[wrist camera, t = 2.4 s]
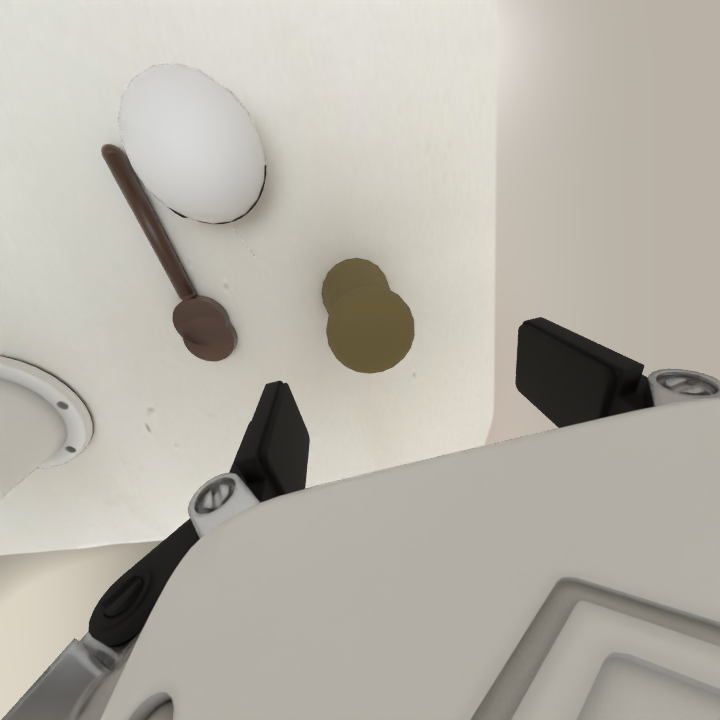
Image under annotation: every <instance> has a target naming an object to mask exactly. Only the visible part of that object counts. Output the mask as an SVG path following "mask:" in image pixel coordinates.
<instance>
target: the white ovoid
mask: <svg viewBox="0 0 720 720" xmlns="http://www.w3.org/2000/svg"><path fill="white" fill-rule="evenodd" d="M118 120H119V127H120V134H121V141H122V143H123V146H124V148H125V151H126V153H127V156H128V158H129V160H130V163H131V165H132V167H133V169H134V171H135V172H136V174H137V175H138V176H139V178H140V179H141V181H142V182H143V183H144V185H145V186H146V188H147V189H148V190H149V191H150V192H151V193H152V194H153V195H154V196H155V197H157V198H158V199H159V200H160V201H161V202H162V203H163V204H164V205H166V206H167V207H168V208H169V209H171V210H172V211H173V212H175V213H176V214H178V215H179V216H181V217H184V218H191V219H193V220H197V221H200V222H204V223H209V224H224V223H229V222H233V221H236V220H238V219H240V218H242V217H243V216H245V215H246V214H247V213H248V212H249V211H250V210H252V208H253V207H254V206H255V205H256V203H257V201H258V200H259V198H260V196H261V193H262V191H263V188H264V184H265V178H266V161H265V157H264V152H263V148H262V143H261V139H260V135H259V133H258V131H257V129H256V127H255V125H254V123H253V121H252V119H251V117H250V115H249V113H248V111H247V110H246V109H245V107H244V106H243V105H242V104H241V103H240V102H239V100H238V99H237V98H236V97H235V96H234V94H233V93H232V92H231V91H230V90H228V89H227V88H225V87H224V86H223V85H221V84H220V83H218V82H217V81H215V80H214V79H212V78H211V77H209V76H208V75H206V74H205V73H203V72H202V71H200V70H198V69H194V68H191V67H188V66H184V65H181V64H178V63H171V64H161V65H153V66H152V67H150V68H149V69H147V70H145V71H144V72H142V73H141V74H139V75H137V76H136V77H135V78H133V79H132V80H131V82H130V84H129V85H128V87H127V89H126V90H125V92H124V94H123V95H122V98H121V104H120V110H119V116H118ZM232 228H233V227H232ZM233 229H234V228H233ZM235 232H236V231H235ZM236 233H237V232H236ZM238 236H239V235H238ZM242 241H243V240H242ZM243 242H244V241H243ZM244 243H245V242H244ZM247 247H248V246H247ZM249 250H250V249H249ZM250 251H251V250H250ZM252 254H253V253H252ZM253 255H254V254H253Z"/></svg>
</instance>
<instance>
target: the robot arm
mask: <svg viewBox="0 0 720 720" xmlns="http://www.w3.org/2000/svg"><path fill="white" fill-rule="evenodd" d="M643 368H644V365H643V364H641V363H638V362H636V361H634V360H632V359H630V358H628V357H626V356H623V355H621V354H619V353H617V352H615V351H613V350H611V349H609V348H606V347H604V346H602V345H600V344H597V343H596V342H594V341H591V340H589V339H587V338H585V337H583V336H581V335H579V334H576V333H574V332H572V331H570V330H568V329H566V328H563V327H561V326H559V325H557V324H555V323H553V322H551V321H549V320H546V319H544V318H542V317H539V318H535V319H531V320H527V321H524V322H523V324H522V325H521V326H520V327H519V330H518V347H517V365H516V387H517V389H518V391H519V392H520V393H521V394H523V395H524V396H525V397H526V398H527V399H528V400H529V401H530V402H531V403H532V404H533V405H534V406H536V407H537V408H538V409H539V410H540V411H541V412H542V413H543V414H544V415H545V416H546V417H548V418H549V419H550V420H551V421H552V422H553V423H554V424H555V425H556V426H557V427H558V428H557V429H553V430H548V431H544V432H540V433H536V434H532V435H527V436H523V437H519V438H515V439H510V440H506V441H502V442H497V443H493V444H489V445H485V446H480V447H476V448H472V449H468V450H463V451H459V452H455V453H451V454H446V455H442V456H438V457H434V458H430V459H425V460H421V461H417V462H413V463H408V464H404V465H400V466H396V467H392V468H388V469H383V470H379V471H375V472H371V473H367V474H363V475H359V476H354V477H350V478H346V479H342V480H338V481H334V482H330V483H325V484H321V485H317V486H314V487H310V488H306V489H305V484H306V474H307V463H308V453H309V442H310V439H309V434H308V431H307V428H306V426H305V424H304V421H303V419H302V416H301V414H300V412H299V409H298V407H297V404H296V402H295V400H294V397H293V395H292V392H291V390H290V388H289V385H288V384H287V383H283V382H282V381H277V382H272V383H268V384H266V385H265V388H264V390H263V393H262V395H261V398H260V401H259V403H258V406H257V408H256V411H255V413H254V416H253V418H252V421H250V423H249V425H248V427H247V430H246V432H245V435H244V437H243V440H242V442H241V445H240V447H239V450H238V452H237V455H236V457H235V460H234V462H233V465H232V467H231V470H230V472H229V473H225V474H221V475H218V476H216V477H214V478H212V479H211V480H209V481H207V482H206V483H205V484H204V485H203V486H201V487H200V488H199V489H198V491H197V492H196V493H195V494H194V496H193V497H192V499H191V501H190V503H189V507H188V513H189V516H190V519H189V520H188V521H186V522H185V523H184V524H183V525H182V526H180V527H179V528H178V529H177V530H176V531H175V532H173V533H172V534H171V535H170V536H169V537H167V538H166V539H165V540H164V541H163V542H161V543H160V544H159V545H158V546H157V547H156V548H154V549H153V550H152V551H151V552H150V553H149V554H147V555H146V556H145V557H144V558H143V559H142V560H140V561H139V562H138V563H137V564H135V565H134V566H133V567H132V568H131V569H130V570H128V571H127V572H126V573H125V574H124V575H122V576H121V577H120V578H119V579H118V580H117V581H116V582H115V583H114V584H113V585H112V586H111V587H110V588H109V589H108V590H107V591H106V593H105V594H104V595H103V597H102V598H101V599H100V601H99V602H98V604H97V606H96V607H95V609H94V611H93V613H92V616H91V618H90V621H89V631H88V633H87V634H86V635H85V636H84V637H83V638H82V639H81V640H80V641H78V640H77V639H74V640H73V641H72V642H71V643H70V644H69V645H68V646H67V647H66V648H65V650H64V651H63V652H62V653H61V654H60V655H59V656H58V657H57V659H56V660H55V661H54V662H53V663H52V664H51V665H50V666H49V667H48V669H47V670H46V671H45V672H44V673H43V674H42V675H41V676H40V677H39V679H38V680H37V681H36V682H35V683H34V684H33V685H32V686H31V687H30V689H29V690H28V691H27V692H26V693H25V694H24V695H23V697H21V699H20V700H19V701H18V702H17V703H16V704H15V705H14V706H13V707H12V709H11V710H10V711H9V712H8V713H7V714H6V715H5V716H4V717H3V719H2V720H720V381H719V380H718V379H716V378H714V377H711V376H708V375H706V374H702V373H699V372H695V371H688V370H682V369H662V370H657V371H654V372H652V373H651V374H650V375H649V377H648V378H647V377H646V376H644V375H642V372H643ZM92 434H93V424H92V421H91V417H90V414H89V412H88V411H87V409H86V407H85V405H84V404H83V402H82V401H81V400H80V399H79V397H78V396H77V395H76V394H75V393H74V392H73V391H72V390H71V389H69V388H68V387H67V386H66V385H65V384H63V383H62V382H60V381H59V380H58V379H56V378H55V377H53V376H52V375H50V374H48V373H46V372H44V371H42V370H40V369H38V368H36V367H33V366H31V365H28V364H26V363H23V362H21V361H17V360H13V359H10V358H6V357H2V356H0V499H1V498H2V497H3V496H5V495H6V494H7V493H8V492H9V491H10V490H12V489H13V488H14V487H15V486H16V485H17V484H19V483H20V482H21V481H22V480H23V479H24V478H26V477H27V476H28V475H29V474H30V473H31V472H33V471H34V470H35V469H36V468H47V467H53V466H57V465H60V464H63V463H66V462H68V461H70V460H71V459H73V458H75V457H76V456H77V455H78V454H79V453H80V452H81V451H83V450H84V449H85V447H86V446H87V445H88V443H89V442H90V440H91V437H92Z"/></svg>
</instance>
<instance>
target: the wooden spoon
mask: <svg viewBox="0 0 720 720" xmlns="http://www.w3.org/2000/svg"><path fill="white" fill-rule="evenodd" d="M101 152H102V156H103V158H104V159H105V161H106V163H107V165H108V167H109V169H110V170H111V172H112V174H113V176H114V178H115V180H116V181H117V183H118V185H119V187H120V189H121V191H122V193H123V194H124V196H125V198H126V200H127V202H128V204H129V205H130V207H131V209H132V211H133V213H134V215H135V216H136V218H137V220H138V222H139V224H140V226H141V227H142V229H143V231H144V233H145V235H146V237H147V238H148V240H149V242H150V244H151V246H152V248H153V249H154V251H155V253H156V255H157V257H158V259H159V261H160V262H161V264H162V266H163V268H164V270H165V272H166V273H167V275H168V277H169V279H170V281H171V283H172V284H173V286H174V288H175V290H176V292H177V294H178V295H179V297H180V299H181V300H183V301H182V302H181V303H179V304H178V305H177V306H176V308H175V309H174V312H173V323H174V326H175V328H176V330H177V331H178V333H179V334H180V335H181V336H182V337H183V341H184V343H185V345H186V347H187V349H188V350H189V351H190V352H191V353H192V354H194V355H195V356H197V357H198V358H200V359H203V360H206V361H220V360H223V359H225V358H226V357H228V356H229V355H230V354H231V353H232V351H233V350H234V348H235V347H236V344H237V335H236V332H235V329H234V328H233V326H232V325H231V324H230V323H229V317H228V315H227V313H226V311H225V309H224V308H223V307H222V306H221V305H220V304H219V303H218V302H216V301H215V300H213V299H210V298H208V297H204V296H196V294H195V291H194V289H193V288H192V286H191V284H190V282H189V280H188V278H187V276H186V274H185V272H184V270H183V268H182V266H181V264H180V262H179V260H178V258H177V256H176V254H175V252H174V250H173V248H172V247H171V245H170V243H169V241H168V239H167V237H166V235H165V233H164V231H163V229H162V227H161V225H160V223H159V221H158V219H157V217H156V215H155V213H154V211H153V209H152V208H151V206H150V204H149V202H148V200H147V198H146V196H145V194H144V192H143V190H142V188H141V186H140V184H139V182H138V180H137V178H136V176H135V174H134V172H133V170H132V169H131V167H130V165H129V163H128V161H127V159H126V157H125V155H124V153H123V152H122V150H121V149H119V148H118V147H117V146H115V145H112V144H106V145H104V146H103V147H102V149H101Z"/></svg>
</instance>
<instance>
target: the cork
mask: <svg viewBox="0 0 720 720" xmlns="http://www.w3.org/2000/svg"><path fill="white" fill-rule="evenodd" d="M322 298H323V303H324V306H325V308H326V310H327V312H328V314H329V317H328V323H327V331H326V332H327V338H328V344H329V346H330V348H331V350H332V352H333V353H334V355H335V357H336V358H337V359H338V360H339V361H340V362H341V363H342V364H343V365H345V366H346V367H347V368H350V369H352V370H354V371H356V372H362V373H376V372H383V371H385V370H387V369H389V368H392V367H394V366H395V365H396V364H397V363H399V362H400V361H401V360H402V359H403V358H404V357H405V355H406V354H407V353H408V351H409V350H410V348H411V345H412V342H413V339H414V319H413V317H412V314H411V311H410V308H409V307H408V306H407V304H406V303H405V302H404V301H403V300H402V298H401V297H400V296H399V295H397V294H396V293H394V292H392V291H390V288H389V285H388V282H387V280H386V277H385V275H384V273H383V272H382V271H381V270H380V269H379V267H378V266H376V265H375V264H373V263H371V262H370V261H368V260H363V259H358V258H355V259H348V260H345V261H343V262H341V263H339V264H336V265H335V266H334V267H333V268H332V269H331V270H330V271H329V272H328V274H327V276H326V278H325V280H324V282H323V288H322Z"/></svg>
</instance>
